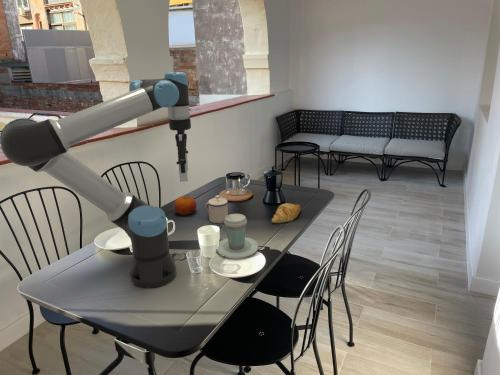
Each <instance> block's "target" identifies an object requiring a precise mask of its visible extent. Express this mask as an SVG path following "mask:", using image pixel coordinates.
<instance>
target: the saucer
mask: <svg viewBox="0 0 500 375" xmlns="http://www.w3.org/2000/svg"><path fill="white" fill-rule="evenodd" d="M218 243H219V247H218V249H217V250H216V252H217V253H218V254H219V253H221V254H222V255H224V256H226V257H225V258H228V257H229V258H230V259H241V258H242V259H243V258H247V257H251V256H252V255H255V254H256V253H257V252H258V249H259V243H258V242H257V241H256V240H255V239H253V238H250V237H246V236H245V244H244V248H242V249H240V250H233V249H230V248H229V243H228V238H227V237H226V238H224V239H222V240H219V241H218ZM222 255H221V256H222ZM224 256H223V257H224Z"/></svg>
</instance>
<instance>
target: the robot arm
mask: <svg viewBox="0 0 500 375" xmlns="http://www.w3.org/2000/svg"><path fill="white" fill-rule="evenodd" d="M188 83H189V81H188V77H187V73H186V72H184V71H171V72H168V71H167V72H165V73H164V78H158V79H157V78H155V79H154V78H151V79H149V78H147V79H146V78H145V79H140V78H139V79H134V80H133V79H132V80H131V81H130V82H129V86H128V88H129V89H128V92H126V93H123V94H121V95H118V96H116V97H112V98H110V99H108V100H105V101H103V102H100V103H98V104H95V105H92V106H90V107H87V108H84V109H81V110H80V111H77V112H74V113H72V114H68V115H67V116H64V117H61V118H59V119H57V120H56V119H52V118H47V119H44V120H42V121H36V120H33V119H32V118H25V117H24V118H23V117H21V118H16V119H13V120H12V121H8V123H7V124H6V125H5V126H4V127H3V128H2V130H1V132H0V148H1V151H2V154H4V157H6V158H7V159H8V160H9V161H10V162H11V163H13V164H14V165H18V166H21V167H28V168H29V169H31V170H32V171H34V172H35V173H41V172H44V173H46V174H48V175H49V176H51V177H52V178H54V179H55V180H57V181H58V182H60V183H61V184H63V185H64V186H65V187H67V188H69V189H70V190H72V192H75V193H76V194H78V195H79V196H81V197H83V198H84V199H85V200H86V201H88V202H89V203H91V204H92V205H94V206H95V207H97V208H99V209H100V210H101V211H103V212H104V213H106V214H107V219H108V221H109V222H111V223H112V224H114V225H116V226H117V227H119V228H120V229H121V230H123V231H124V232H125V234H126V236H128V237H129V239H130V242H131V248H132V255H133V256H132V257H133V259H132V264H131V268H130V272H129V274H130V282H131V283H132V285H134V286H136V287H138V288H140V289H141V288H142V289H154V288H159V287H163V286H165V285H168V284H170V282H171V283H172V281H173V280H174V279H175V278H176V276H177V275H178V271H177V264H176V262H175V261H174V259H173V257H172V255H171V253H170V246H169V245H170V244H169V235H168V233H169V232H168V220H167V217H166V213H165V211H164V210H163V209H162V208H160V207H158V206H154V205H148V203H146V202H145V201H144V200H142V199H140V198H138V196H135V195H134V194H133V193H131V192H122V191H121V190H120V189H119V188H117V187H116V186H114V185H113V184H111V183H110V182H109V181H108V180H106V179H105V178H103V177H102V176H100V174H98V173H97V172H96V171H95V170H92V169H91V168H90V167H88V166H87V165H86V164H84V163H83V162H82V161H81V160H79V159H78V158H76V157H74V155H72V154H71V153H69V149H70V148H71V147H72V146H74V145H76V144H79V143H81V142H84V141H86V140H88V139H90V138H91V139H92V138H94V137H95V136H98V135H100V134H103V133H105V132H107V131H110V130H112V129H114V128H117V127H120V126H121V125H124V124H126V123H128V122H130V121H133V120H135V119H137V118H141V117H143V116H145V115H147V114H150V113H151V112H154V111H157V110H159V109H162V108H167V115H168V116H167V117H168V118H169V119H168V124H169V125H168V126H169V129H170V131H176V133H175V136H174V138H175V144H176V147H177V148H176V149H177V159H178V161H176V162H175V164H176V165H178V175H179V182H180V183H182V182H183V183H184V182H188V181H189V178H188V171H189V164H188V154H189V150H188V149H187V140H188V138H187V136H188V135H187V133H185V132H186V131H188V130H190V129H191V128H192V122H191V118H190V116H191V113H190V112H191V111H192V108H191V107H190V99H189V97H190V96H189V95H190V94H189V84H188Z"/></svg>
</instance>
